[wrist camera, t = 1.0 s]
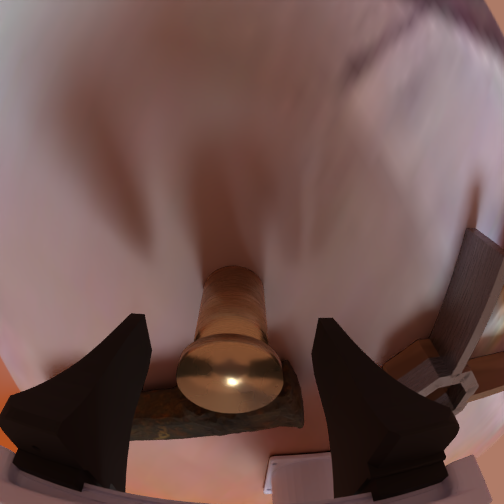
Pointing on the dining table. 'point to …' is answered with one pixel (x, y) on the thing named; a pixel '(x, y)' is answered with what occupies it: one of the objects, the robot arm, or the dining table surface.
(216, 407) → the bronze pin
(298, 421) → the hand tool
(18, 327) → the dining table surface
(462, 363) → the grey ring with handle
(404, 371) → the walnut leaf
